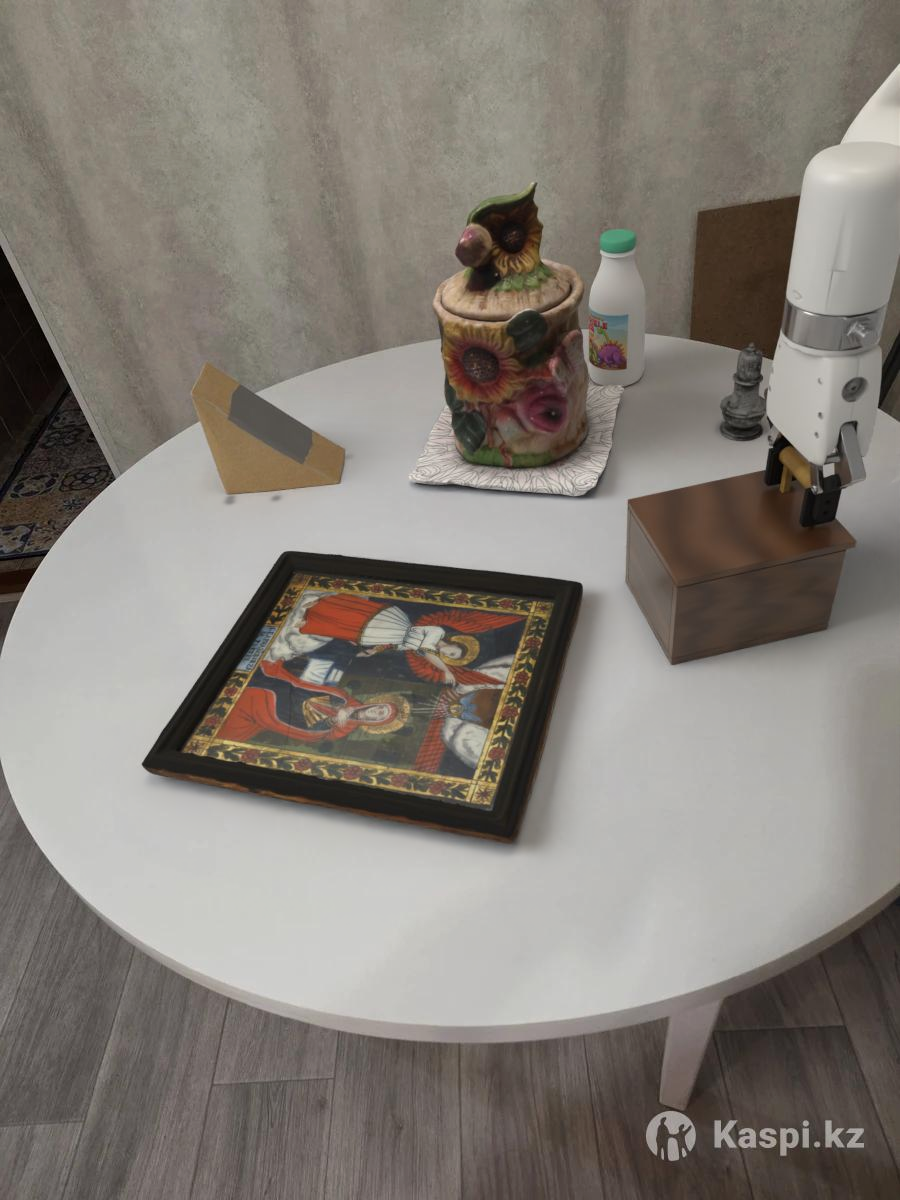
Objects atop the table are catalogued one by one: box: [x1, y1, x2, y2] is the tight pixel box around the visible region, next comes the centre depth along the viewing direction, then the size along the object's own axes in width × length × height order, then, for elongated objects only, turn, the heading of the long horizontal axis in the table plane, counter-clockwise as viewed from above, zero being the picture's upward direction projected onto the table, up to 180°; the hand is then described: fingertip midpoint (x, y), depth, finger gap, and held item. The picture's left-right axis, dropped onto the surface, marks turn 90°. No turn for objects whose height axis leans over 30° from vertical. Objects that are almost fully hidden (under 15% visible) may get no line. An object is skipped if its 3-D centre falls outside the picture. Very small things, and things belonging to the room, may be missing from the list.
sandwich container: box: [190, 361, 345, 495], centre depth 111 cm, size 9×15×15 cm, turn 90°
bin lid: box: [627, 446, 858, 587], centre depth 79 cm, size 17×13×6 cm
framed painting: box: [141, 550, 584, 844], centre depth 84 cm, size 38×35×3 cm
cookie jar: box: [408, 181, 624, 497], centre depth 104 cm, size 25×25×32 cm
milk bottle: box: [588, 228, 647, 387], centre depth 118 cm, size 8×8×20 cm
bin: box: [624, 506, 847, 666], centre depth 85 cm, size 16×13×10 cm
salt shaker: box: [719, 341, 767, 442], centre depth 107 cm, size 6×6×12 cm
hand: (798, 500), depth 81 cm, fingers closed on bin lid, 6 cm apart
